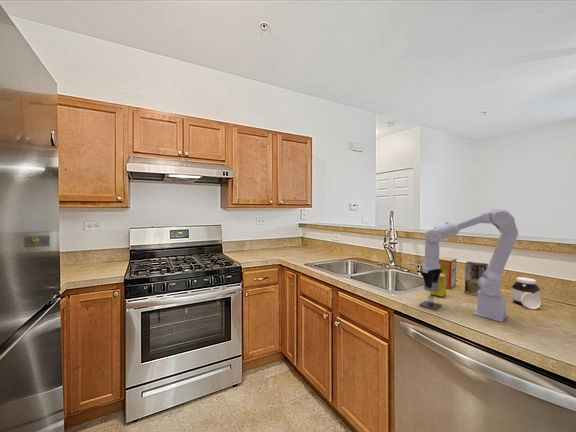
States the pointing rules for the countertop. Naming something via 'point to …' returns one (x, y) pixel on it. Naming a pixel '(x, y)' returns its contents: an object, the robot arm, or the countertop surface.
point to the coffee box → (473, 276)
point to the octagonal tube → (433, 286)
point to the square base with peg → (430, 304)
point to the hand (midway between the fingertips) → (431, 286)
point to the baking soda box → (448, 271)
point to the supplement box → (441, 287)
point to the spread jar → (526, 293)
